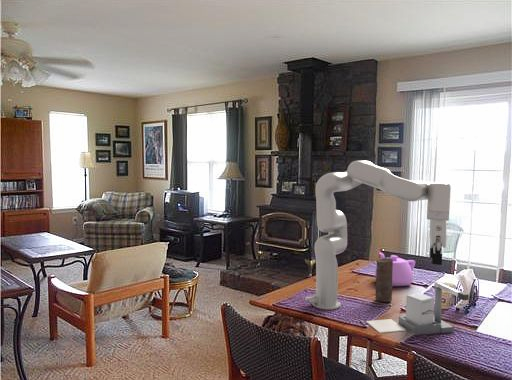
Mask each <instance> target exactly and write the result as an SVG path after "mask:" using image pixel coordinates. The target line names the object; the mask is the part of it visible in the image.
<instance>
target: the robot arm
mask: <svg viewBox="0 0 512 380" xmlns="http://www.w3.org/2000/svg"><path fill="white" fill-rule="evenodd" d="M362 184H364V185H367V186H369V187H373V188H376V189H379V190H380V191H382V192H384V193H386V194H388V195H389V196H392V197H396V198H399V199H401V200H404V201H407V202H417V201H419V202H420V201H425V200H427V203H426V205H427V206H426V220H428V221H429V245H430V248H429V257H430V259H431V264H432V265H438V266H442V265H443V249H446V247H447V222H449V221H450V208H451V206H450V205H451V187H452V186H451V184H450V183H448V182H443V181H442V182H441V181H440V182H439V181H437V182H436V181H433V182H431V181H425V180H413V181H412V180H409V179H406V178H403V177H400V176H397V175H394V174H393V173H392V172H391V171H390V169H388V168H385V167H381V166H379V165H375V164H374V163H373V162H371V161H369V160H354V161H352V162H350V164H349V165H348V166H347V170H345V171H343V172H342V171H337V172H336V171H333V172H329V173H328V172H327V173H326V174H323V175H322V176H321V177H320V178H318V180H317V182H316V185H315V200H316V205H315V206H316V226H317V229H318V230H319V231H320V232H321V233H328V234H326V235H322V236H320V237H318V238H317V239H316V241H315V242H314V255H315V267H316V268H315V273H316V274H315V293H313V295H312V296H305V301H306V302H310V303H311V304H312V306H313V307H315V308H317V309H321V310H327V311H328V310H329V311H330V310H332V311H333V310H337V309H340V307H341V306H342V303H341V302H340V301H339V300H338V288H339V286H338V280H339V276H338V275H339V273H338V272H339V268H338V267H339V266H338V260H337V257H336V255H339V254H341V253H343V252H344V251H346V249H347V246H348V222H347V217H346V215H345V214H344V212H342V211H341V210H339V209H337V201H336V198H335V195H334V193H336V192H346V191H349V190H353V189H354V188H357V187H358V186H361V185H362Z"/></svg>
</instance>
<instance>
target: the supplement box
mask: <svg viewBox="0 0 512 380" xmlns="http://www.w3.org/2000/svg"><path fill="white" fill-rule="evenodd" d="M405 296H406V300H405V301H406V302H405V316H406V320H408V321H409V322H411V323H412V324H414V325H415V326H420V325H431V324H433V315H435V297H432V296H430V295H428V294H424V293H421V292H417V293H412V294H411V293H410V294H407V295H405Z"/></svg>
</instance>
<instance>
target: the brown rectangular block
mask: <svg viewBox="0 0 512 380" xmlns="http://www.w3.org/2000/svg"><path fill="white" fill-rule="evenodd" d="M376 268H377V269H376ZM376 268H375V272H376V277H375V299H376V300H377V302H391V301H392V300H393V287H392V273H393V259H391V257H385V258H381V257H379V258H376Z"/></svg>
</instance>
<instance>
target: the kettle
mask: <svg viewBox="0 0 512 380" xmlns="http://www.w3.org/2000/svg"><path fill="white" fill-rule="evenodd" d="M378 254H379V255H380V258H386V257H385V254H384V253H383V252H378ZM390 258H391V259H393V273H392V288H394V287H406V286H410V285H411V284H412V282H413V280H414V278H413V269H414V268H415V265H416V261H415V260H414V259H408V260H407V259H403V258H401V257H399V256H398V255H394V254H391V255H390ZM376 269H377V267H376V268H375V270H376ZM374 273H375V274H374V277H375V278H376V271H375V272H374Z"/></svg>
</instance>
